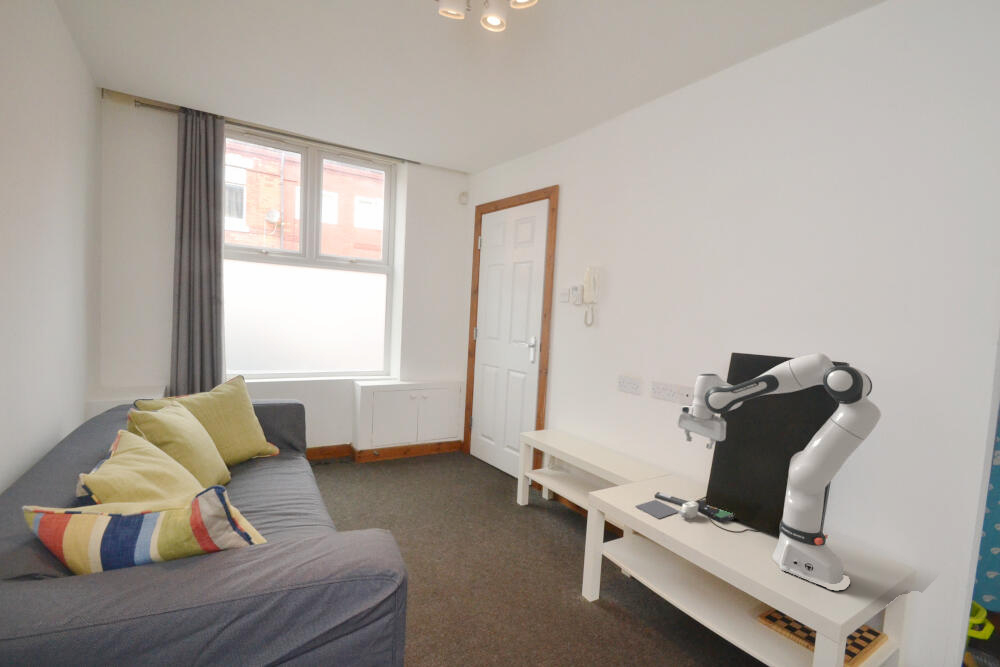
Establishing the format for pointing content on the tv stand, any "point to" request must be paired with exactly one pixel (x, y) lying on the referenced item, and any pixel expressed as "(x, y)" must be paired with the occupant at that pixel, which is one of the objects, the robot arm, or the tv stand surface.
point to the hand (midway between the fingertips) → (698, 444)
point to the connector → (689, 510)
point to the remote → (670, 499)
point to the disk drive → (714, 512)
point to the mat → (657, 509)
